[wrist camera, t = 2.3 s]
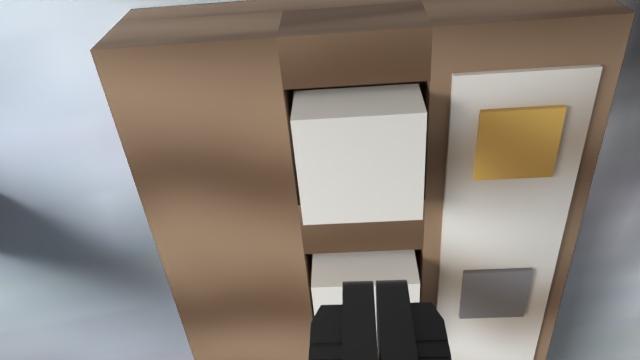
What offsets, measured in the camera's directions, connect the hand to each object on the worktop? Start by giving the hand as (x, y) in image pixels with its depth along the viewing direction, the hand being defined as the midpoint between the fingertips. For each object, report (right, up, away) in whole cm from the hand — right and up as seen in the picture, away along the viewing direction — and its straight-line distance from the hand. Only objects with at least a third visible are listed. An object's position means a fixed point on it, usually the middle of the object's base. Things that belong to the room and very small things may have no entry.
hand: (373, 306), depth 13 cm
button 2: (0, +4, +6) cm, 7 cm away
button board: (+1, +1, +13) cm, 13 cm away
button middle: (+1, -1, +10) cm, 10 cm away
